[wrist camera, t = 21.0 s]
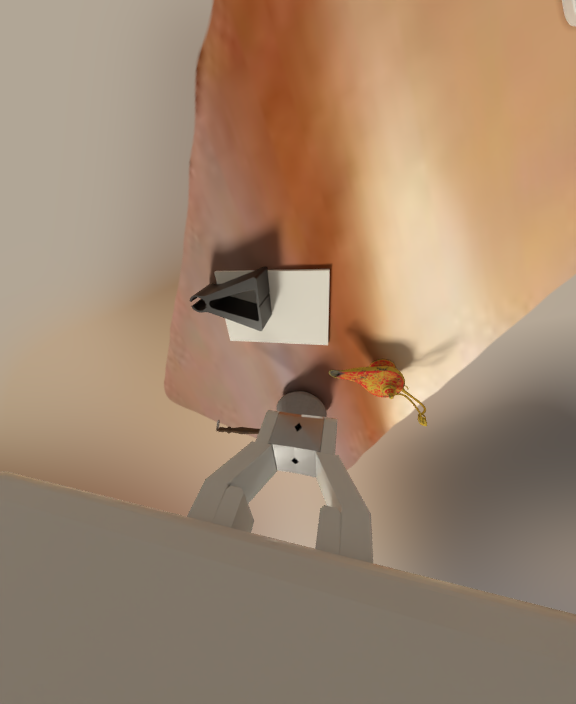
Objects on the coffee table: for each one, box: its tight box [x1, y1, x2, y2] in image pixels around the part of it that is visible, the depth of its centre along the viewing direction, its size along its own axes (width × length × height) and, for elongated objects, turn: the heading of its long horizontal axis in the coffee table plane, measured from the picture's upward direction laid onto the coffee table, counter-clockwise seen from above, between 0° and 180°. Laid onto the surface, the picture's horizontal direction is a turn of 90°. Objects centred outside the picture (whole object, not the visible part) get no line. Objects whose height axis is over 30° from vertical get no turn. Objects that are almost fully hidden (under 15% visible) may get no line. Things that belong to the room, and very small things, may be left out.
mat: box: [214, 269, 330, 345], centre depth 44 cm, size 20×14×1 cm
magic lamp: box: [329, 359, 427, 426], centre depth 43 cm, size 7×18×11 cm, turn 73°
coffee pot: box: [216, 391, 327, 434], centre depth 51 cm, size 21×12×15 cm, turn 69°
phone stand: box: [190, 267, 272, 331], centre depth 41 cm, size 9×6×12 cm
